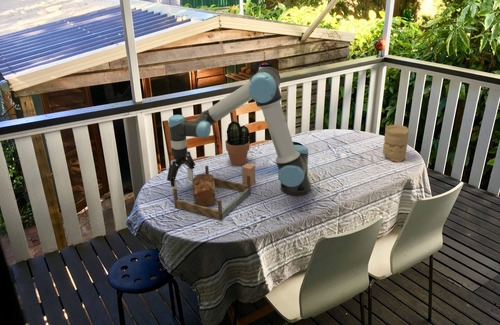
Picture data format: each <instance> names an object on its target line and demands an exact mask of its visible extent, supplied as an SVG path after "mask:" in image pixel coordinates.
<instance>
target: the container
mask: <svg viewBox="0 0 500 325" xmlns="http://www.w3.org/2000/svg"><path fill="white" fill-rule="evenodd" d="M409 132H410V130H409V129H408V127H407V126H405V125H402V124H401V125H400V124H390V125H387V126H385V130H384V141H383V149H382V154H383V155H384V156H385V157H386V158H387V159H388V160H389V161H391V162H395V163H401V162H402V161H404V160H406V156H407V148H408V142H409V141H408V140H409Z"/></svg>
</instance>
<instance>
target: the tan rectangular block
mask: <svg viewBox="0 0 500 325" xmlns="http://www.w3.org/2000/svg"><path fill="white" fill-rule="evenodd" d="M241 175H242V176H241V179H242V183H241V184H244V185H247V175H250V183H251V187H252V186H253V185H254V184H256V164H251V163H245V164H244V165H242V166H241Z"/></svg>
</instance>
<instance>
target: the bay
mask: <svg viewBox="0 0 500 325" xmlns="http://www.w3.org/2000/svg"><path fill="white" fill-rule="evenodd" d="M204 169H205V174H210V172H209V171H210V169H209V165H204ZM213 178H214V184H215V187H218V188H222V189H227V190H232V191H235V192H241V193H239V195H238V196H237V197H236V198H234V200H232V201H231V202H230V203H229V204H228V205H227V206H226V207H225V208H223V205H222V199H221V198H220V199H217V207H218V208H217V209H213V208H211V207H208V206H207V207H206V206H200V205H196V204H195V203H191V202H188V201H184V200H181V199H178V187H177V188H174V189H173V191H172V193H173V201H174V208H176V209H180V210H184V211H186V212H190V213H194V214H197V215H202V216H205V217H208V218H213V219H215V220H219V221H222V220H224V218H225V217H227V215H229V214H230V213H231V212H232V211H233V210H234V209H235V208H236V207H237V206H239V204H241V202H243V201H244V200H245V199H246V198H247V197H249V195H251V192H252V190H251V189H252V188H251V187H252V186H251V183H250V175H247V185H244V184H243V183H238V182H234V181H230V180H225V179H221V178H218V177H214V176H213Z"/></svg>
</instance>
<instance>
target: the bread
mask: <svg viewBox="0 0 500 325" xmlns="http://www.w3.org/2000/svg"><path fill="white" fill-rule="evenodd" d="M213 177H214V175H213V174H211V173H209V174H206V173H199V174H197V175H196V176H193V181H192V193H193V198H194V204H196V205H200V206H203V207H206V206H207V207H208V206H215V204H216V186H215V184H214V178H215V177H214V178H213Z"/></svg>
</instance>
